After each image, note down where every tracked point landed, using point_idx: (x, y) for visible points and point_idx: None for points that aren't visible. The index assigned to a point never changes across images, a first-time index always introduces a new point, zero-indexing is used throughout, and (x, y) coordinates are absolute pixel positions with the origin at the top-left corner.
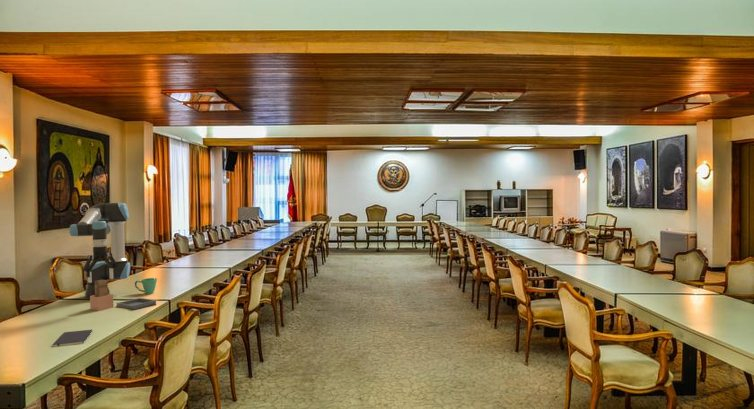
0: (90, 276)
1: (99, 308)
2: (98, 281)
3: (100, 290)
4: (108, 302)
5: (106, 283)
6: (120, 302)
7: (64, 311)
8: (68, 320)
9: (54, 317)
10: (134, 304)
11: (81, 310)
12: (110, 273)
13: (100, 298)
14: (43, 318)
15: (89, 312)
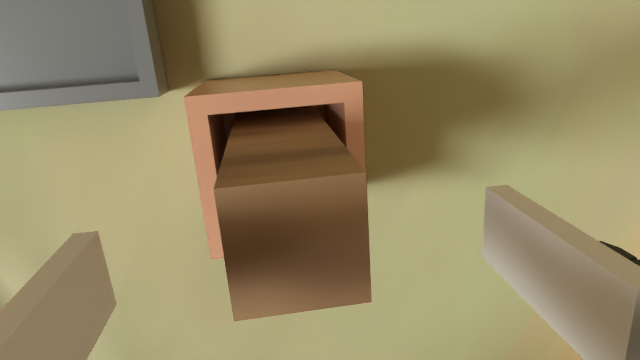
0: (577, 229)
1: (335, 72)
2: (361, 211)
3: (328, 138)
4: (247, 83)
5: (236, 171)
6: (121, 90)
7: (443, 312)
8: (588, 14)
9: (567, 197)
10: (10, 7)
11: (372, 249)
12: (67, 348)
13: (338, 81)
14: (607, 230)
15: (376, 133)
